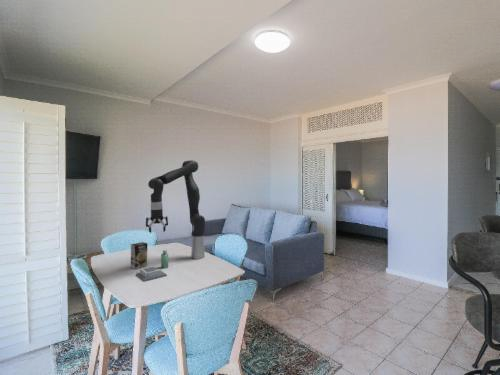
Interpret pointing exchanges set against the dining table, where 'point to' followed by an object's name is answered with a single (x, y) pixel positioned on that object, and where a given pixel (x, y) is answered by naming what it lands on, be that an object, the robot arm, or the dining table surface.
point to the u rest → (150, 273)
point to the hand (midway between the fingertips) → (157, 232)
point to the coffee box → (138, 255)
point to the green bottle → (164, 259)
